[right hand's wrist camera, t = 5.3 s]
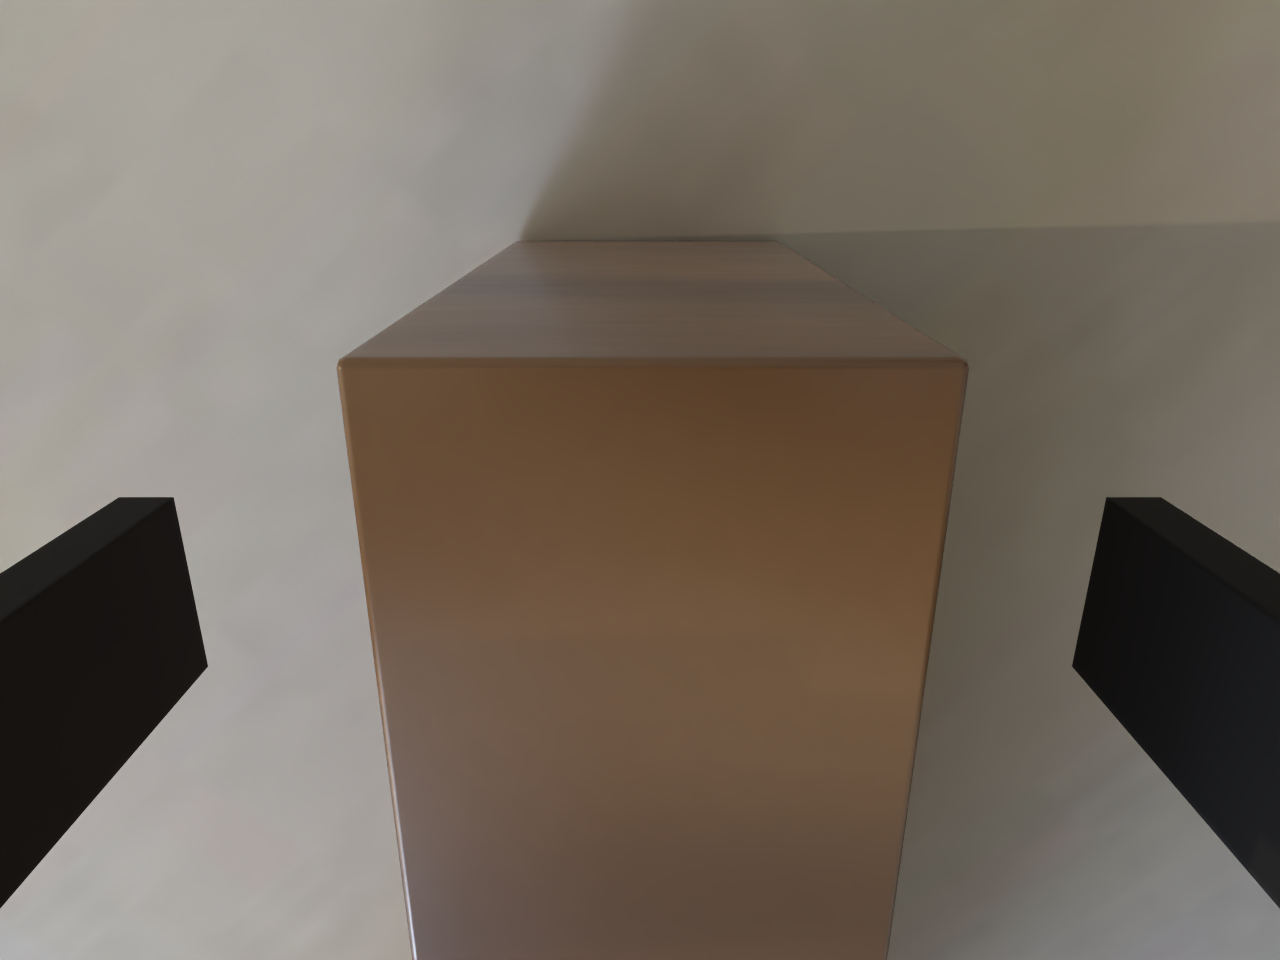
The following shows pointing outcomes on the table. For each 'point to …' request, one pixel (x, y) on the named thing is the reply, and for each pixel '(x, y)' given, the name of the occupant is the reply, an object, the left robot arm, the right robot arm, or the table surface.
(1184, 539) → the right robot arm
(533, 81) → the table surface
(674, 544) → the bar
